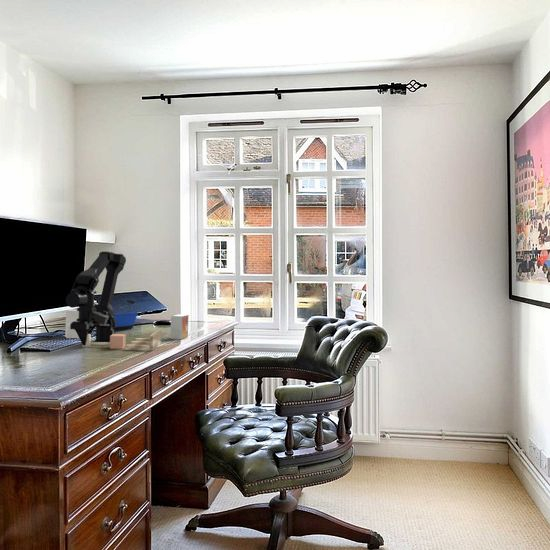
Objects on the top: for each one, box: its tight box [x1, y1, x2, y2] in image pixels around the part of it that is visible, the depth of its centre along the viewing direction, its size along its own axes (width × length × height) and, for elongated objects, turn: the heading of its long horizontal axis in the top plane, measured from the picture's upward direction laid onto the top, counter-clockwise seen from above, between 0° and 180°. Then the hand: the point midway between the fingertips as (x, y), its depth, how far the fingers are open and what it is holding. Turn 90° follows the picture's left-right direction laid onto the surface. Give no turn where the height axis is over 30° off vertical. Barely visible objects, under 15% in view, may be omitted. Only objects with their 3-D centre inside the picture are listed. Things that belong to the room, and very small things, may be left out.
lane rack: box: [124, 329, 162, 352], centre depth 208 cm, size 11×17×6 cm, turn 2°
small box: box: [170, 313, 190, 340], centre depth 233 cm, size 8×6×10 cm
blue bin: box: [113, 311, 139, 332], centre depth 253 cm, size 16×13×9 cm
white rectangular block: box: [64, 309, 80, 339], centre depth 226 cm, size 9×9×12 cm
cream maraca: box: [81, 333, 127, 350], centre depth 204 cm, size 16×5×5 cm, turn 95°
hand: (85, 344), depth 203 cm, fingers closed on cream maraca, 3 cm apart
